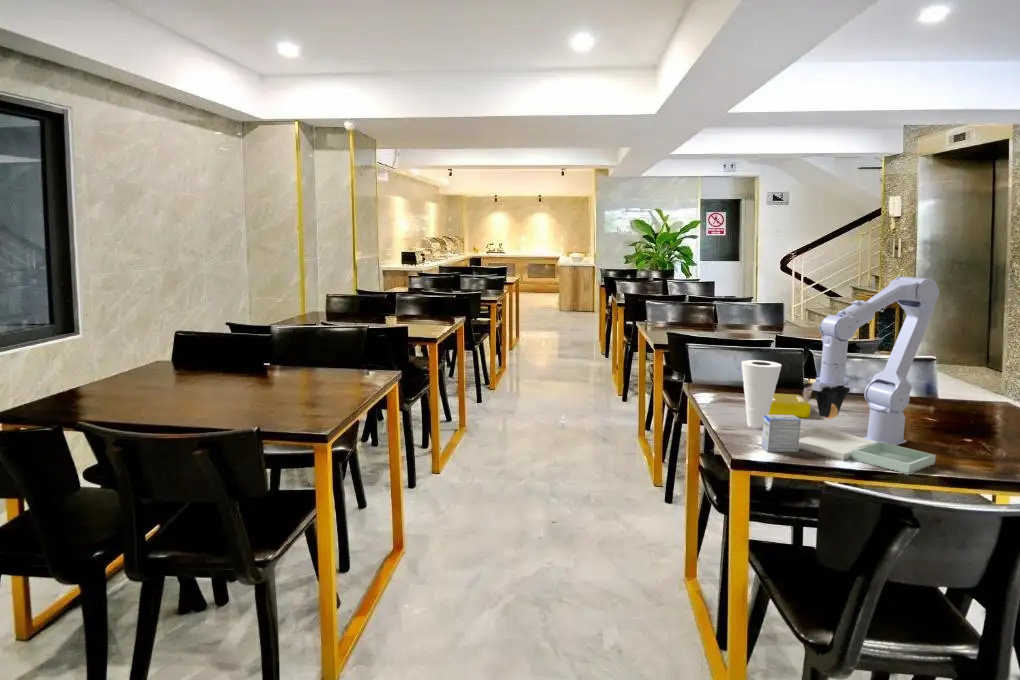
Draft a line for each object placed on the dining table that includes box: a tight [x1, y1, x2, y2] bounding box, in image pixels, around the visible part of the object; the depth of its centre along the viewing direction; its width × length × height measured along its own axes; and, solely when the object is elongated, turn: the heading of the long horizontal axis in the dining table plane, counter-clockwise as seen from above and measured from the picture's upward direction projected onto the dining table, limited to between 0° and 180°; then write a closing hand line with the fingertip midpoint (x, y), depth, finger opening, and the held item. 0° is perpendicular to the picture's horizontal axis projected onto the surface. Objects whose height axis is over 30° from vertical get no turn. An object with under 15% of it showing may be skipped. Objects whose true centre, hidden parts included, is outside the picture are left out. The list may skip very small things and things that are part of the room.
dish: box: [851, 442, 937, 476], centre depth 178 cm, size 13×13×2 cm
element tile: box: [769, 392, 812, 419], centre depth 227 cm, size 15×15×5 cm
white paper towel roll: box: [740, 359, 782, 429], centre depth 207 cm, size 11×11×18 cm
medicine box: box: [761, 415, 802, 453], centre depth 186 cm, size 8×4×9 cm, turn 92°
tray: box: [798, 426, 877, 462], centre depth 191 cm, size 18×18×2 cm
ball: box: [824, 404, 839, 420], centre depth 189 cm, size 4×4×4 cm
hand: (828, 415), depth 189 cm, fingers closed on ball, 4 cm apart
